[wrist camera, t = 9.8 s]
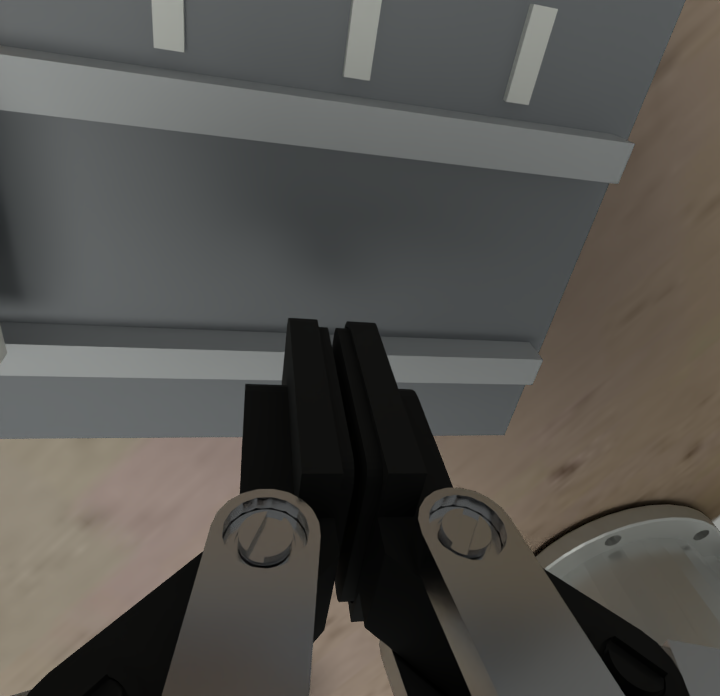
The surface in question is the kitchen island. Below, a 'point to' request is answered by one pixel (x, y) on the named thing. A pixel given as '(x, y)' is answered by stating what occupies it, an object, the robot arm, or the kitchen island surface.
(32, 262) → the fader panel
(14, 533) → the kitchen island surface
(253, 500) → the robot arm
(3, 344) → the fader knob
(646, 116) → the kitchen island surface
